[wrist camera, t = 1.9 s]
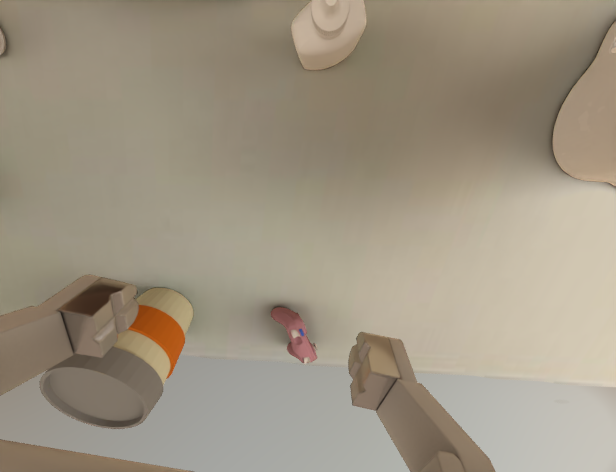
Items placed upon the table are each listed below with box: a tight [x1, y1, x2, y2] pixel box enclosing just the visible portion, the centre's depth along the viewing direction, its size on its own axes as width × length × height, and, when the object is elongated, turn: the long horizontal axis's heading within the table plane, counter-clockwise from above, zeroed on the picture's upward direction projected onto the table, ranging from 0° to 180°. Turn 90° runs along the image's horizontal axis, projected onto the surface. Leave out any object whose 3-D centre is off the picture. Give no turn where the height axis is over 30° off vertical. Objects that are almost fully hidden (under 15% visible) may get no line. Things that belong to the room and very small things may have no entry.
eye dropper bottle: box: [291, 0, 367, 70], centre depth 19 cm, size 4×6×12 cm
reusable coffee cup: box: [40, 288, 194, 429], centre depth 35 cm, size 13×12×15 cm
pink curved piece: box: [271, 307, 317, 364], centre depth 40 cm, size 10×5×7 cm, turn 17°
